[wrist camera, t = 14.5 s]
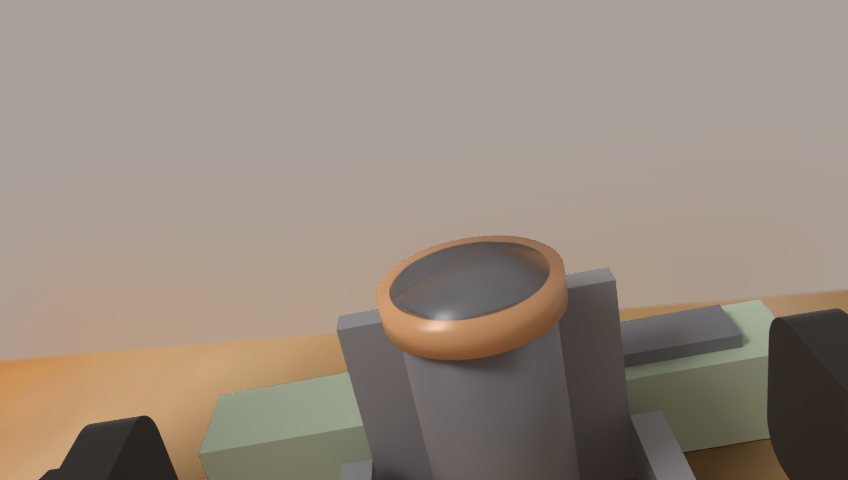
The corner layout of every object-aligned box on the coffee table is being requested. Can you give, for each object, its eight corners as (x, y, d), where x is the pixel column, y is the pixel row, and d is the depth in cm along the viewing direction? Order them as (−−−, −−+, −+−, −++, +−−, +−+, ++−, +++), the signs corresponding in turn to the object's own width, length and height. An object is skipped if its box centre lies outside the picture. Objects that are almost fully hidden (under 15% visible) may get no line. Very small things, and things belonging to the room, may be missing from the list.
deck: (179, 696, 26) (79, 490, 22) (245, 464, 36) (184, 298, 33) (914, 583, 24) (936, 343, 21) (761, 376, 35) (757, 192, 31)
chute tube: (452, 652, 25) (372, 344, 20) (444, 525, 30) (378, 254, 26) (622, 626, 25) (582, 306, 20) (585, 502, 30) (546, 223, 25)
